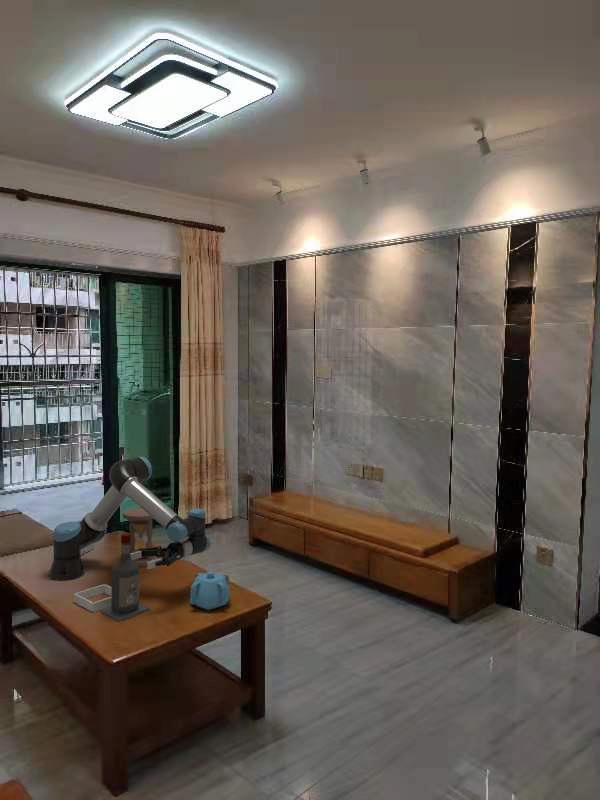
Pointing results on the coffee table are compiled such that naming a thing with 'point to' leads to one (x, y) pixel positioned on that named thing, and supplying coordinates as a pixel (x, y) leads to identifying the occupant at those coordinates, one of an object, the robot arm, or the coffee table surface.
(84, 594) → the bottle holder
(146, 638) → the coffee table surface
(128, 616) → the slate coaster
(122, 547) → the liquor
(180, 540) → the robot arm
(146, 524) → the hourglass
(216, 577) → the decorative pot
